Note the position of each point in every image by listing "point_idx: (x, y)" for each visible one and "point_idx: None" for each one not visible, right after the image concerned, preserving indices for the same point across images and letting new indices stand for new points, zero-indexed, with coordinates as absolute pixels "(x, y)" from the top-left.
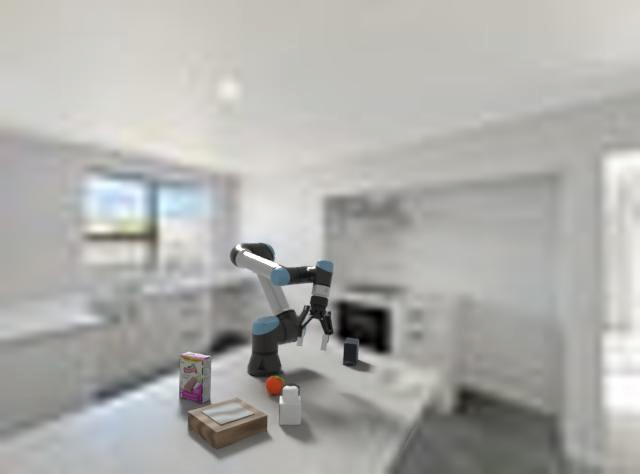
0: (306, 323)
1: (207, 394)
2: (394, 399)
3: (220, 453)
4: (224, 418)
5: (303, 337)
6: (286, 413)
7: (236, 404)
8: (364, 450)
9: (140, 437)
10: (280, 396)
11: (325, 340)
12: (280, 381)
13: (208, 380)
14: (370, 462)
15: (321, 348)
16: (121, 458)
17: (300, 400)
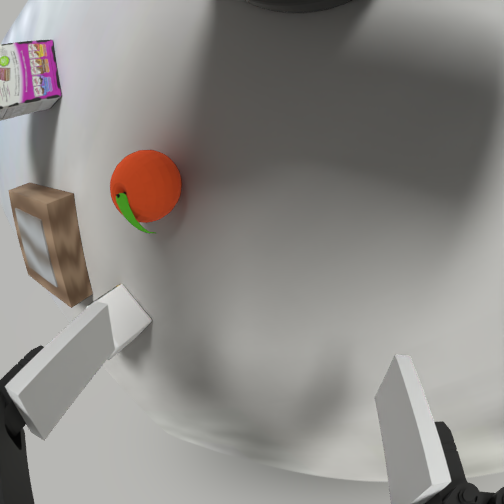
0: (18, 488)
1: (43, 104)
2: (380, 458)
3: None
4: (31, 258)
5: (77, 394)
6: None
7: (41, 235)
8: (174, 422)
9: (7, 166)
10: None
11: (392, 460)
12: (137, 220)
13: (14, 109)
14: (165, 426)
15: (394, 372)
16: (3, 196)
17: (111, 355)
